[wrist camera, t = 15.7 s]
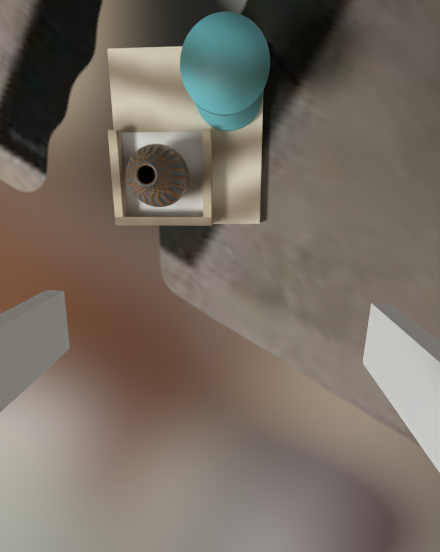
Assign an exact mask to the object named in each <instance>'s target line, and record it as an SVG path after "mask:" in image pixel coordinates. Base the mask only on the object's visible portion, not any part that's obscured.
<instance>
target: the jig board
mask: <svg viewBox="0 0 440 552" xmlns="http://www.w3.org/2000/svg"><path fill="white" fill-rule="evenodd" d="M108 62H109V74H110V87H111V100H112V112H113V125H114V130H108V139H109V150H110V163H111V174H112V186H113V198H114V210H115V222H116V225H212V224H260V195H261V159H262V122H263V94H264V88H265V85H266V82H267V79H268V75H269V70H270V54H269V48H268V45H267V42H266V39H265V37H264V35H263V33H262V32H261V30H260V29H259V28H258V26H257V25H256V24H255V23H254V22H252V21H251V20H250V19H248V18H247V17H245V16H243V15H241V14H238V13H234V12H218V13H215V14H211V15H209V16H207V17H205V18H204V19H202V20H201V21H200V22H198V23H197V24H196V25H195V26H194V27H193V28H192V30H191V31H190V32H189V34H188V36H187V37H186V39H185V41H184V44H183V46H178V47H146V48H145V47H144V48H111V49H108ZM149 144H163V145H166V146H169V147H171V148H173V149H174V150H176V151H177V152H178V153H179V154H180V155H181V156H182V157H183V159H184V160H185V162H186V164H187V166H188V170H189V184H188V188H187V190H186V192H185V194H184V195H183V197H182V198H181V199H180V200H178V201H177V202H176V203H174V204H172V205H169V206H166V207H153V206H150V205H147V204H145V203H143V202H141V201H140V200H139V199H138V198H137V197H136V196H135V195H134V194H133V193H132V191H131V189H130V187H129V185H128V182H127V176H126V171H127V166H128V162H129V160H130V158H131V157H132V155H133V154H134V153H135V152H136V151H137V150H138V149H140V148H142V147H143V146H146V145H149Z"/></svg>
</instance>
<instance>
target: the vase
mask: <svg viewBox="0 0 440 552" xmlns="http://www.w3.org/2000/svg"><path fill="white" fill-rule="evenodd" d="M126 176H127V182H128V185H129V187H130V189H131V191H132V193H133V194H134V195H135V196H136V197H137V198H138V199H139V200H140V201H141V202H143V203H145V204H147V205H150V206H153V207H166V206H169V205H172V204H174V203H176V202H177V201H178V200H180V199H181V198H182V197H183V195H184V194H185V192H186V190H187V188H188V184H189V170H188V166H187V164H186V162H185V160H184V159H183V157H182V156H181V155H180V154H179V153H178V152H177V151H176V150H174V149H173V148H171V147H169V146H166V145H163V144H149V145H146V146H143V147H142V148H140V149H138V150H137V151H136V152H135V153H134V154H133V155H132V157H131V158H130V160H129V162H128V166H127V171H126Z"/></svg>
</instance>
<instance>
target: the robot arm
mask: <svg viewBox="0 0 440 552" xmlns="http://www.w3.org/2000/svg"><path fill="white" fill-rule="evenodd" d="M69 348H70V347H69V337H68V327H67V318H66V309H65V298H64V291H53V290H52V291H51V290H46V291H44V292H42V293H40V294H38V295H36V296H35V297H33V298H31V299H29V300H27V301H25V302H23V303H21V304H19V305H17V306H15V307H13V308H11V309H9V310H7V311H5V312H3V313H1V314H0V412H1V411H2V410H3V409H4V408H5V407H6V406H8V405H9V404H10V403H11V402H12V401H13V400H14V399H15V398H16V397H17V396H19V395H20V394H21V393H22V392H23V391H24V390H25V389H26V388H27V387H28V386H29V385H31V384H32V383H33V382H34V381H35V380H36V379H37V378H38V377H39V376H40V375H41V374H42V373H44V371H46V370H47V369H48V368H49V367H50V366H51V365H52V364H53V363H54V362H55V361H57V360H58V359H59V358H60V357H61V356H62V355H63V354H64V353H65V352H66V351H68V350H69ZM363 364H364V365H365V367H366V368H367V370H368V371H369V373H370V374H371V375H372V377H373V378H374V380H375V381H376V382H377V384H378V385H379V387H380V388H381V390H382V391H383V392H384V394H385V395H386V397H387V398H388V400H389V401H390V402H391V404H392V405H393V407H394V408H395V410H396V411H397V412H398V414H399V415H400V417H401V418H402V420H403V421H404V422H405V424H406V425H407V427H408V428H409V430H410V431H411V432H412V434H413V435H414V437H415V438H416V440H417V441H418V442H419V444H420V445H421V447H422V448H423V449H424V451H425V452H426V454H427V455H428V457H429V458H430V459H431V461H432V462H433V464H434V465H435V466H436V468H437V469H438V471H439V472H440V341H439V340H437V339H436V338H435V337H433V336H432V335H431V334H429V333H428V332H427V331H425V330H424V329H423V328H421V327H420V326H419V325H418V324H416V323H415V322H414V321H412V320H411V319H410V318H408V317H407V316H406V315H404V314H403V313H402V312H401V311H399V310H398V309H397V308H395V307H394V306H393V305H391V304H385V303H371V309H370V316H369V323H368V330H367V337H366V344H365V351H364V358H363Z"/></svg>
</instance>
